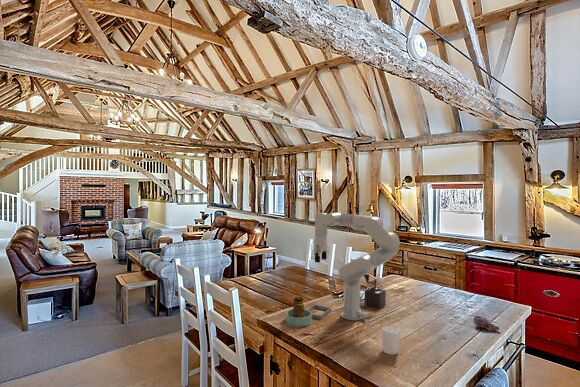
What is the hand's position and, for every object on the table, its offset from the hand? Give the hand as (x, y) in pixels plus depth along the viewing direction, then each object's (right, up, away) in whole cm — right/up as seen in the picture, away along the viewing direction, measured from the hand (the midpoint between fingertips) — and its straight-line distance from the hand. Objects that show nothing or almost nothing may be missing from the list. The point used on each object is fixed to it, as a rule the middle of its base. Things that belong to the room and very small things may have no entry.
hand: (320, 260), depth 198 cm
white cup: (+27, -31, -50) cm, 65 cm away
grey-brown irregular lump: (+86, -32, -25) cm, 95 cm away
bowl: (-14, -30, -17) cm, 38 cm away
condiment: (-15, -30, -18) cm, 37 cm away
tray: (-2, -30, -6) cm, 31 cm away
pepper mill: (+35, -31, +12) cm, 48 cm away
